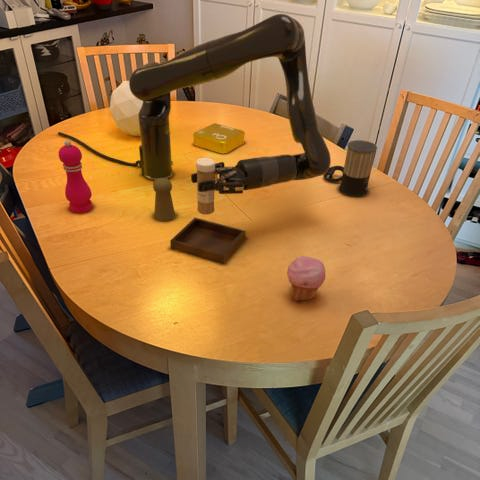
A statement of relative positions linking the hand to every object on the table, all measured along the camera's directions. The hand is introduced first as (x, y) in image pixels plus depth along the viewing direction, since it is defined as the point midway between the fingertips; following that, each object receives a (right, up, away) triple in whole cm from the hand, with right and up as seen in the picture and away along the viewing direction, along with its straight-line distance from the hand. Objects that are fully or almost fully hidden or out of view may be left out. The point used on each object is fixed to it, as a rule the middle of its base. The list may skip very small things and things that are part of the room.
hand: (195, 183), depth 115 cm
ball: (-29, +39, +68) cm, 83 cm away
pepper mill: (-36, -1, +23) cm, 42 cm away
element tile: (+3, +33, +63) cm, 71 cm away
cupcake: (+26, -28, -4) cm, 38 cm away
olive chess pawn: (-11, -4, +21) cm, 24 cm away
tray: (+3, -13, +11) cm, 17 cm away
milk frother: (+46, +11, +40) cm, 62 cm away
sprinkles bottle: (+2, -6, +6) cm, 9 cm away
